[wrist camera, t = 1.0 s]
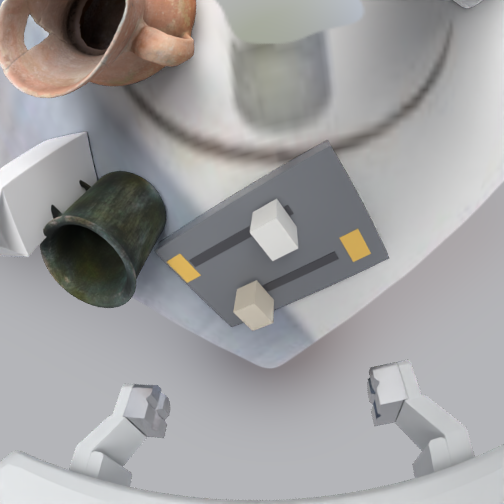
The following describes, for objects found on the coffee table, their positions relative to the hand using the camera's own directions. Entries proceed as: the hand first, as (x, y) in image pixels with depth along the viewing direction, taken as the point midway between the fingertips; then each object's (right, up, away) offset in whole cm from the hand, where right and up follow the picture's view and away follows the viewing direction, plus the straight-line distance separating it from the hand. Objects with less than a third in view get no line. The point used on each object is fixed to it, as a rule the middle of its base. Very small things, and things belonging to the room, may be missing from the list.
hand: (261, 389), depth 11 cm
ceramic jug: (-12, +28, +13) cm, 33 cm away
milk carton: (-23, +17, +22) cm, 36 cm away
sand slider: (0, 0, +29) cm, 30 cm away
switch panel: (+2, +6, +27) cm, 28 cm away
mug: (-17, +12, +25) cm, 32 cm away
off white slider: (+2, +9, +23) cm, 24 cm away
